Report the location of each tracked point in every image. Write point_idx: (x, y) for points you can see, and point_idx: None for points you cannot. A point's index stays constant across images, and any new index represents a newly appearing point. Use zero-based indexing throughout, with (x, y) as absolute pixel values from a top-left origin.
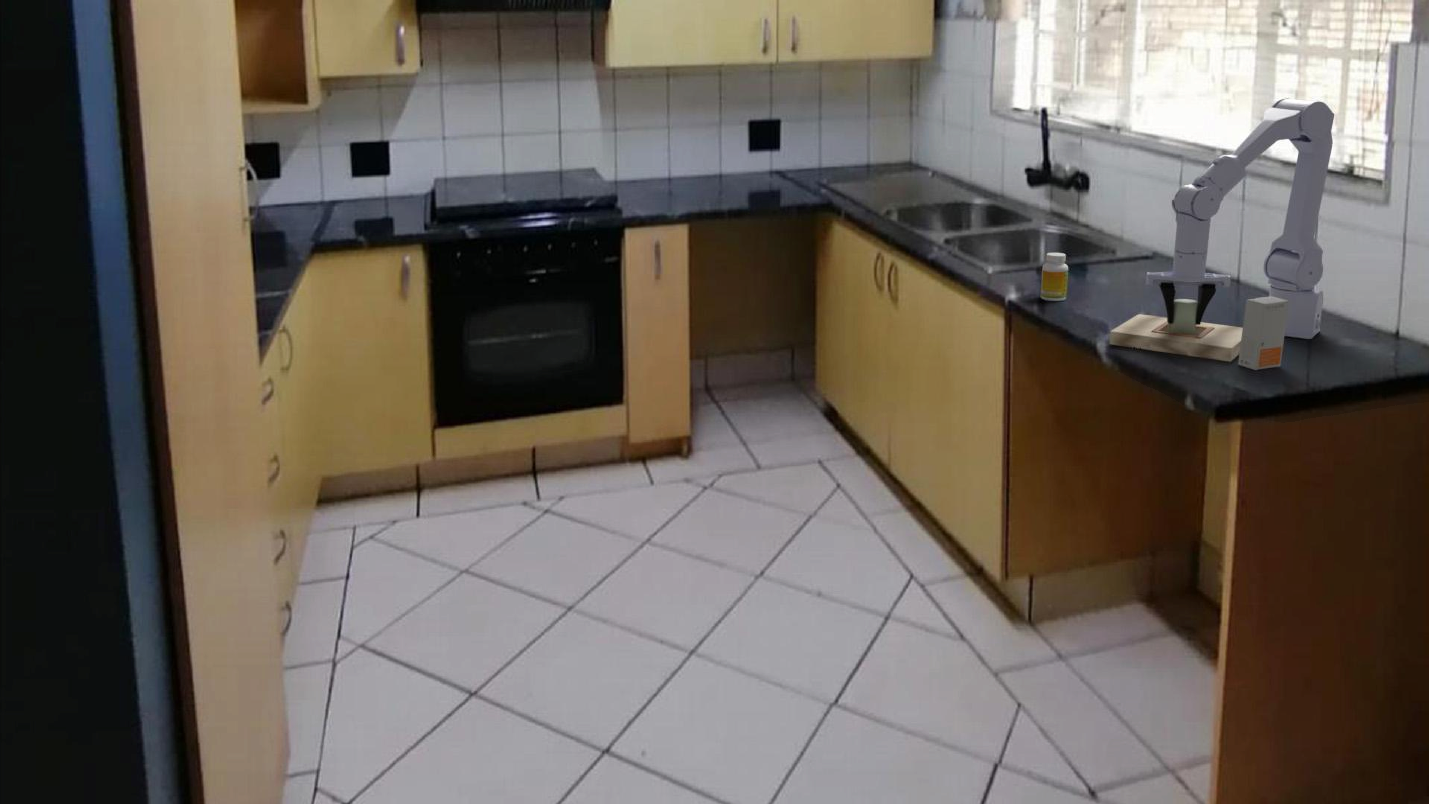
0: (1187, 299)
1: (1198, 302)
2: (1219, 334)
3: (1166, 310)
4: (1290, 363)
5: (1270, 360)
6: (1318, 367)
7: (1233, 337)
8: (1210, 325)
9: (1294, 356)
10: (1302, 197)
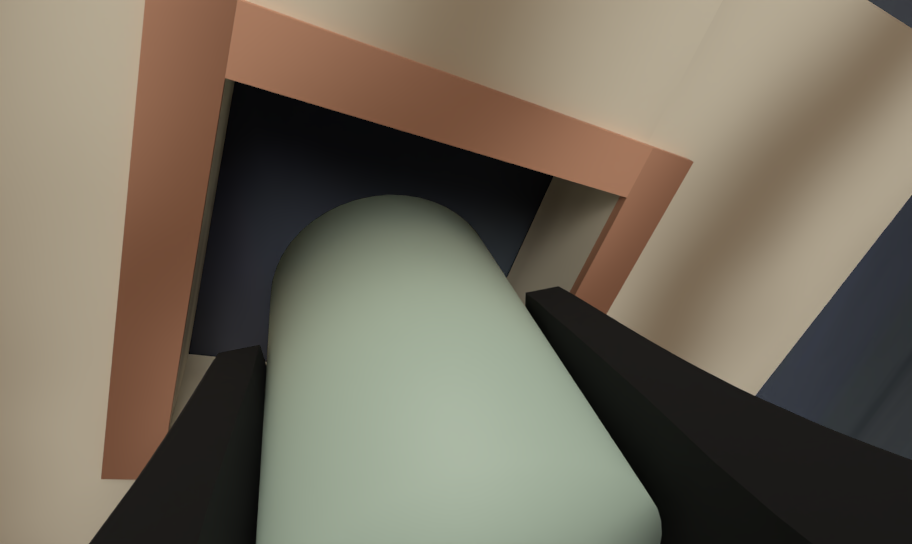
0: (528, 477)
1: (668, 508)
2: (660, 337)
3: (158, 446)
4: (824, 414)
5: None
6: (890, 421)
7: (721, 376)
8: (691, 30)
9: (906, 309)
10: None
